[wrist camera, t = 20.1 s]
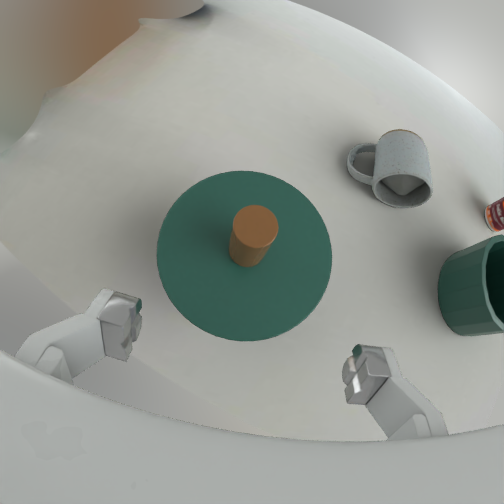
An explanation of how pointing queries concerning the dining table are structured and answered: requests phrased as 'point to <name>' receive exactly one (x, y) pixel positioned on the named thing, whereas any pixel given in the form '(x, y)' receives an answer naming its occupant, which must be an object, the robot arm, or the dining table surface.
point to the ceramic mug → (397, 169)
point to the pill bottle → (495, 215)
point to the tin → (474, 289)
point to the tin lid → (244, 256)
